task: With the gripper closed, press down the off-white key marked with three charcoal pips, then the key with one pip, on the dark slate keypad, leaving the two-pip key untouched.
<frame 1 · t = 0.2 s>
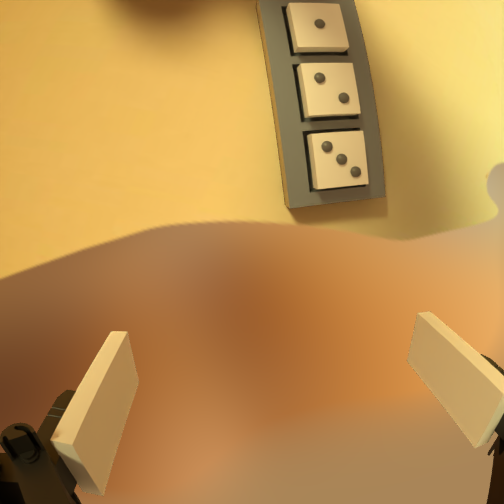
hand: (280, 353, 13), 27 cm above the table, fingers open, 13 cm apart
key two: (329, 89, 32), point 4 cm above the table, slide at 0.0 cm
keypad: (319, 95, 36), on the table
key three: (338, 159, 34), point 4 cm above the table, slide at 0.0 cm
key one: (317, 26, 30), point 4 cm above the table, slide at 0.0 cm
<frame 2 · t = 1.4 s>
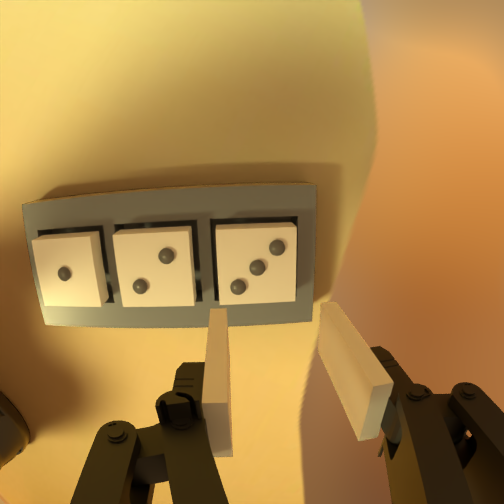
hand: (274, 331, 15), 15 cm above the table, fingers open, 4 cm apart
key two: (155, 267, 25), point 4 cm above the table, slide at 0.0 cm
keypad: (164, 253, 29), on the table
key three: (256, 263, 26), point 4 cm above the table, slide at 0.0 cm
key one: (69, 270, 25), point 4 cm above the table, slide at 0.0 cm
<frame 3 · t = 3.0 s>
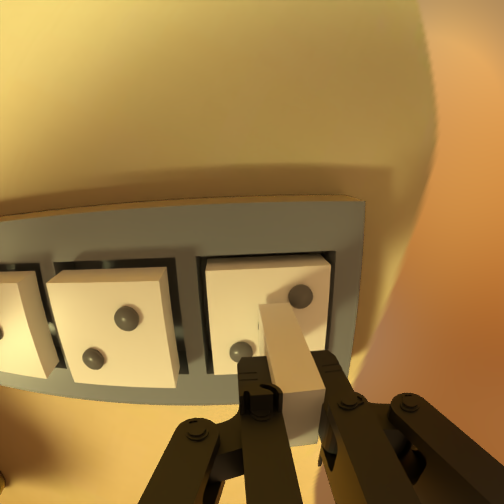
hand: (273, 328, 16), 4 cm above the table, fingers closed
key two: (114, 330, 15), point 4 cm above the table, slide at 0.0 cm
keypad: (133, 299, 19), on the table
key three: (267, 316, 17), point 3 cm above the table, slide at 1.1 cm, touching gripper
key one: (2, 324, 15), point 4 cm above the table, slide at 0.0 cm
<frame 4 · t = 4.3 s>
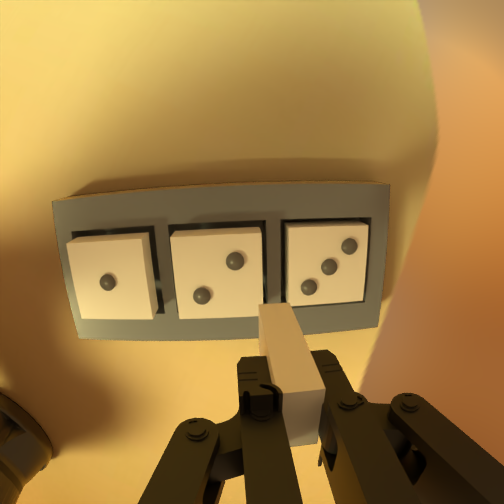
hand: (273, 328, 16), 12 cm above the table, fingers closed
key two: (218, 274, 23), point 4 cm above the table, slide at 0.0 cm
keypad: (220, 257, 27), on the table
key three: (325, 262, 24), point 3 cm above the table, slide at 1.3 cm
key one: (112, 277, 22), point 4 cm above the table, slide at 0.0 cm
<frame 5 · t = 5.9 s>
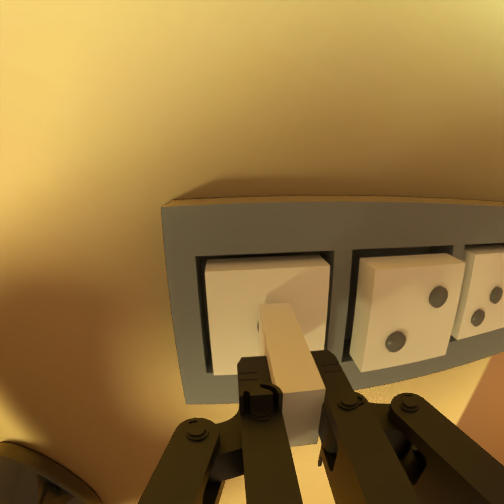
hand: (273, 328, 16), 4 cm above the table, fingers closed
key two: (409, 311, 17), point 4 cm above the table, slide at 0.0 cm
keypad: (380, 286, 20), on the table
key three: (487, 290, 18), point 3 cm above the table, slide at 1.3 cm
key one: (267, 317, 17), point 3 cm above the table, slide at 1.0 cm, touching gripper
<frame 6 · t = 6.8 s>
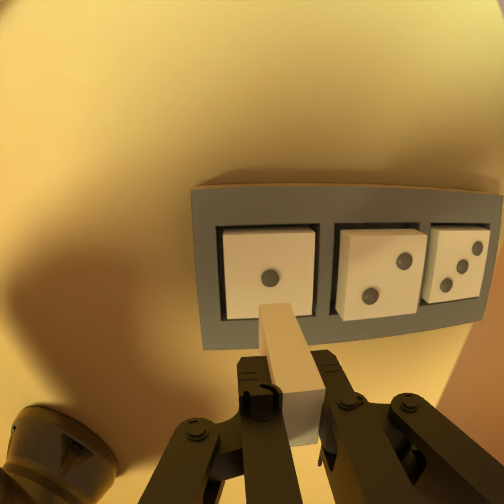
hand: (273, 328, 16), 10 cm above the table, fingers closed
key two: (381, 273, 22), point 4 cm above the table, slide at 0.0 cm
keypad: (362, 257, 26), on the table
key three: (456, 263, 23), point 3 cm above the table, slide at 1.3 cm
key one: (268, 273, 23), point 3 cm above the table, slide at 1.3 cm
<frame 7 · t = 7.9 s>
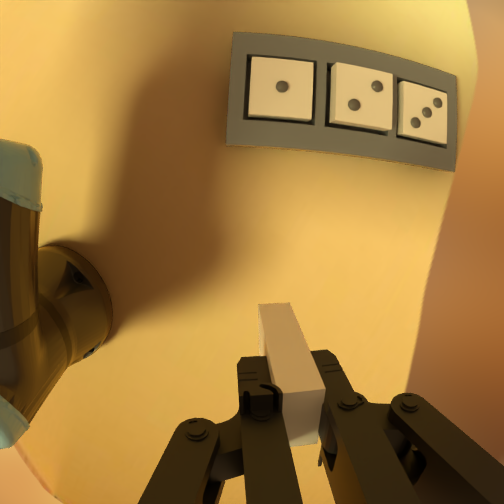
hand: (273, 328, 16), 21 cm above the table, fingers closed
key two: (362, 97, 28), point 4 cm above the table, slide at 0.0 cm
keypad: (349, 103, 32), on the table
key three: (422, 113, 30), point 3 cm above the table, slide at 1.3 cm
key one: (280, 88, 29), point 3 cm above the table, slide at 1.3 cm
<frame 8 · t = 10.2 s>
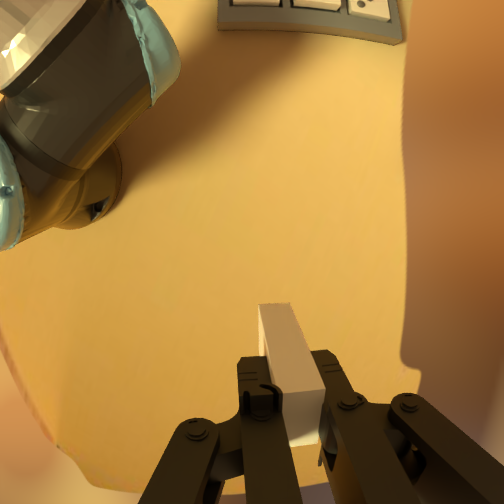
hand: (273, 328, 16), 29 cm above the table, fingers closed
key three: (366, 0, 33), point 3 cm above the table, slide at 1.3 cm
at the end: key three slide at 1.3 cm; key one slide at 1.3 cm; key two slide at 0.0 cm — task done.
